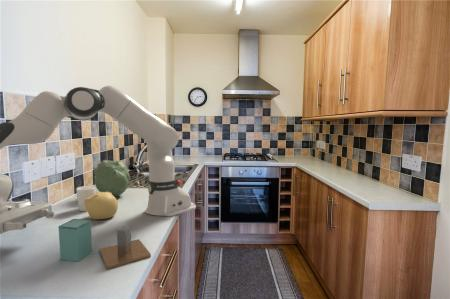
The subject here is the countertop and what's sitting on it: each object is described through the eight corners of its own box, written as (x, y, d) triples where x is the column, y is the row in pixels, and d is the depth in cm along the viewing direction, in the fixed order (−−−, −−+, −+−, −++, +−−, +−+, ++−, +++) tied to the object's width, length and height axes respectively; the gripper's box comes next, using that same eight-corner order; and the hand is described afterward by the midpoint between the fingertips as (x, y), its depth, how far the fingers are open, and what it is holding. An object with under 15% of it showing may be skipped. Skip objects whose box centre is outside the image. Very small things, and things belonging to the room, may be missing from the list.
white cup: (99, 208, 117) (98, 187, 116) (80, 213, 111) (79, 190, 110) (93, 205, 122) (92, 184, 121) (74, 208, 117) (73, 187, 116)
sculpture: (106, 210, 115) (105, 187, 114) (123, 215, 109) (122, 191, 108) (81, 218, 105) (79, 193, 104) (98, 224, 99) (97, 197, 98)
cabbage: (126, 200, 130) (125, 162, 128) (88, 201, 129) (86, 162, 127) (134, 192, 145) (133, 157, 143) (100, 192, 144) (99, 157, 142)
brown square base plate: (115, 239, 86) (115, 216, 86) (162, 243, 84) (162, 220, 83) (79, 266, 70) (77, 238, 69) (136, 273, 67) (135, 244, 66)
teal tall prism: (75, 249, 79) (73, 218, 78) (92, 251, 78) (90, 220, 77) (60, 259, 73) (58, 226, 72) (78, 261, 72) (76, 227, 71)
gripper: (-40, 218, 68) (2, 222, 66) (30, 197, 88) (65, 200, 86) (-39, 240, 69) (4, 245, 66) (31, 215, 89) (65, 218, 87)
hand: (38, 220), depth 76 cm, fingers open, 8 cm apart
